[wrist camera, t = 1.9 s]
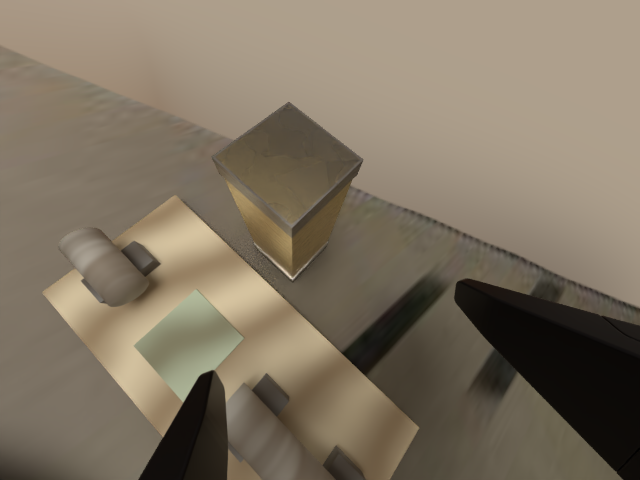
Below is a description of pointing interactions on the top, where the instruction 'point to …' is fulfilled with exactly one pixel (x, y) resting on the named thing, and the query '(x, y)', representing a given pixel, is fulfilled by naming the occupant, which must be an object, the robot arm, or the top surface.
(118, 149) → the top surface
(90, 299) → the shaft bed
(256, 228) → the gold square pillar
